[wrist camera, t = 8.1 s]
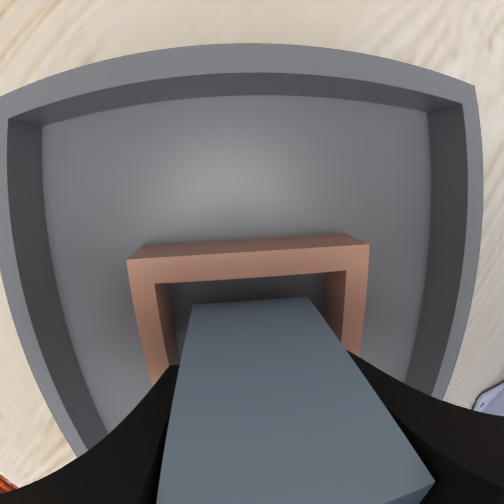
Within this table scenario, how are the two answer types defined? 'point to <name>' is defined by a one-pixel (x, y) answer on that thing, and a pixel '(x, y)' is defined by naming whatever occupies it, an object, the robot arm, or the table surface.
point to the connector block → (280, 416)
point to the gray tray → (234, 212)
